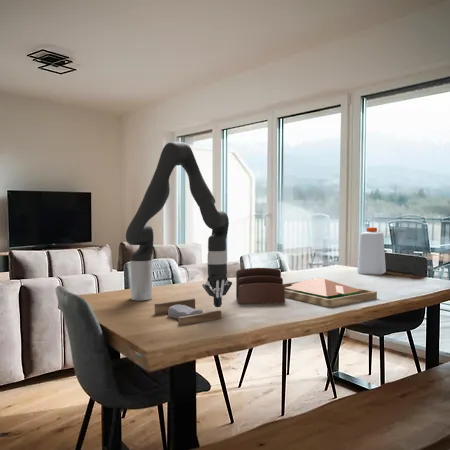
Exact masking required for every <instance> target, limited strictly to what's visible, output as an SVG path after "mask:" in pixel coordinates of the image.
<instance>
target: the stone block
mask: <svg viewBox="0 0 450 450" xmlns="http://www.w3.org/2000/svg"><path fill="white" fill-rule="evenodd" d="M201 313H204V311H203V309H201V308H195V309H193V308H191V307H188V306H185V305H173V306H171V307H169V310H168V313H167V314H168V317H170V318H172V319H173V318H174V319H177V320H178V317H182V316H189V315H195V314H201Z"/></svg>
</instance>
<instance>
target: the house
mask: <svg viewBox="0 0 450 450" xmlns="http://www.w3.org/2000/svg"><path fill="white" fill-rule="evenodd" d="M297 282H298V283H295V284H291V285H293V286H289V287H286V289H290V291H294V292H298V293H302V294H307V295H312V296H317V297H321V298H323V297H324V298H326V299H332V297H333V298H339V297H344V296H350V295H356V294H359V291H361V290H359V289H360V288H359V289H355V288H356V287H353V288H352V286H348V285H345V284H342V283H340V282H336V281H333V280H330V279H327V278H321V277H319V278H310V279H306V280H302V282H300V281H297ZM357 292H358V293H357ZM354 293H355V294H354Z"/></svg>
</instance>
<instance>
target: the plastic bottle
mask: <svg viewBox="0 0 450 450" xmlns="http://www.w3.org/2000/svg"><path fill="white" fill-rule="evenodd" d="M358 243H359V244H358V259H357V269H356V270H357V273H358V274H359V275H370V276H371V275H372V276H380V275H384V274H385V273H386V271H387V269H386V268H387V267H386V265H387V264H386V254H385V251H386V250H385V238H384V233H383V232H381V231H378V228H377V227H371V226H370V227H366V231H362V232H360V234H359V242H358Z"/></svg>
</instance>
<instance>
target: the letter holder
mask: <svg viewBox="0 0 450 450" xmlns="http://www.w3.org/2000/svg"><path fill="white" fill-rule="evenodd" d="M235 273H236V275H235V276H236V277H235V279H236V280H235V282H236V283H235V284H236V286H235V287H236V290H235V293H236V294H235V295H236V302H237V304H238V305H246V304H247V305H248V304H250V305H251V304H253V305H256V304H257V305H259V304H262V305H263V304H285V303H286V297H285V286H284V285H283V284H284V283H283V282H284V279H283V278H282V271H281V270H280V269H278V268H271V267H251V268H250V267H249V268H242V269H241V268H239V269H237V270H236V272H235Z"/></svg>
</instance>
